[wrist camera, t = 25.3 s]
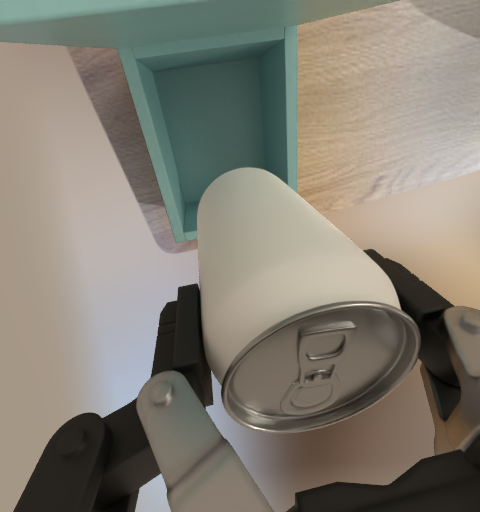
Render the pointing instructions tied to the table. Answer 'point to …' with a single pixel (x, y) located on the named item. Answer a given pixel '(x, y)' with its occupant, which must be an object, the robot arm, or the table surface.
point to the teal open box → (215, 112)
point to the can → (293, 309)
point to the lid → (155, 19)
